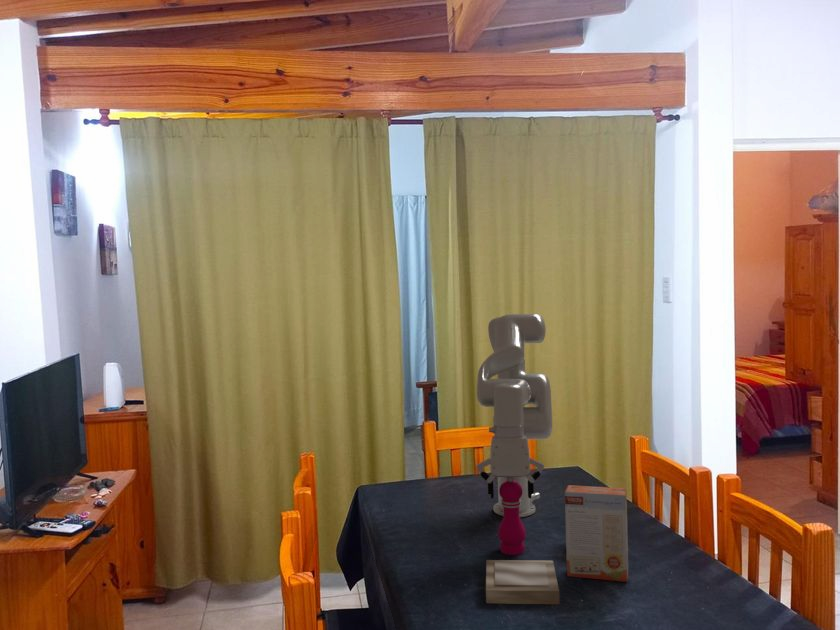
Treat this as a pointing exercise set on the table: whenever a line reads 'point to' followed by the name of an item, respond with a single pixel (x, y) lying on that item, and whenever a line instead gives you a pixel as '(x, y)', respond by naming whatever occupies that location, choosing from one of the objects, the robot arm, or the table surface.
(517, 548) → the pepper mill
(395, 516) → the table surface
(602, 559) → the cracker box
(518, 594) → the birch plinth
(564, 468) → the table surface
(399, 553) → the table surface
